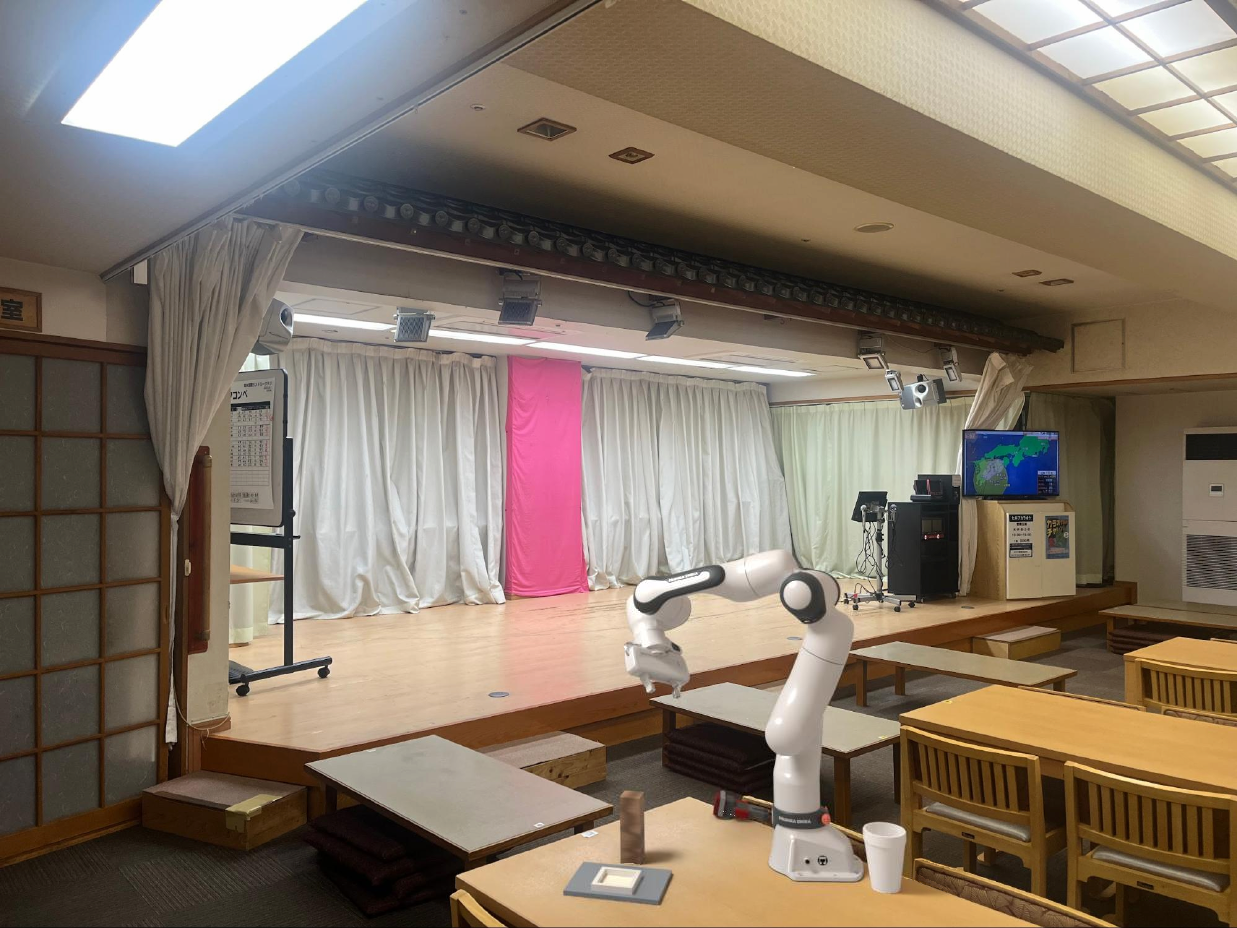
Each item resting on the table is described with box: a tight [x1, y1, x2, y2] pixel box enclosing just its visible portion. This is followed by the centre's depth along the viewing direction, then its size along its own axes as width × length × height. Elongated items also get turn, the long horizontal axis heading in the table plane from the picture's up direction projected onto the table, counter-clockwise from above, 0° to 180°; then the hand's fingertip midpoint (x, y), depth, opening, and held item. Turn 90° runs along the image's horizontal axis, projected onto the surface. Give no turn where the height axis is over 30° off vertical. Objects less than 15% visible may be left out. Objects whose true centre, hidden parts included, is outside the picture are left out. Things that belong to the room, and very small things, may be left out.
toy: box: [712, 790, 770, 822], centre depth 241 cm, size 9×6×15 cm
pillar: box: [619, 790, 646, 865], centre depth 213 cm, size 5×5×16 cm
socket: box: [591, 867, 641, 895], centre depth 197 cm, size 10×10×2 cm
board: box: [562, 861, 673, 906], centre depth 199 cm, size 22×16×1 cm
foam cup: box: [862, 821, 907, 895], centre depth 196 cm, size 10×9×13 cm
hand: (664, 694), depth 219 cm, fingers open, 8 cm apart
